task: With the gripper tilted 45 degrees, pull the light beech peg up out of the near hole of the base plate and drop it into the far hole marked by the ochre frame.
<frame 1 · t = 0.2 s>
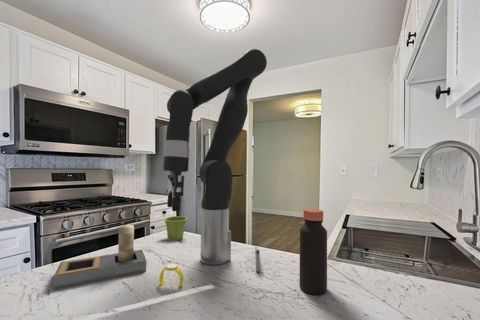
hand: (173, 208, 71), 18 cm above the countertop, tool pointing down, fingers open, 8 cm apart
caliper: (256, 260, 79), on the countertop
watch: (171, 289, 59), on the countertop
base plate: (103, 275, 66), on the countertop
peg: (125, 268, 68), point 1 cm above the countertop, touching base plate
plant pot: (175, 239, 99), on the countertop
bottle: (313, 289, 60), on the countertop
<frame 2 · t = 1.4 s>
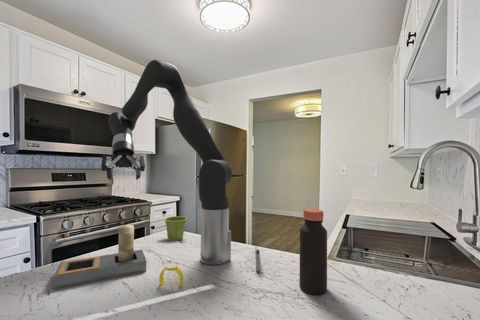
hand: (124, 178, 81), 27 cm above the countertop, tool tilted 45°, fingers open, 8 cm apart
nothing on the countertop moved.
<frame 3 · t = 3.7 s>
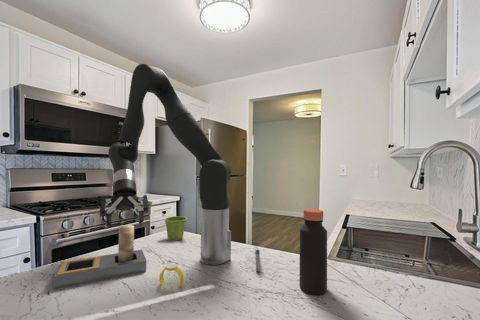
hand: (125, 224, 73), 13 cm above the countertop, tool tilted 45°, fingers open, 8 cm apart
nothing on the countertop moved.
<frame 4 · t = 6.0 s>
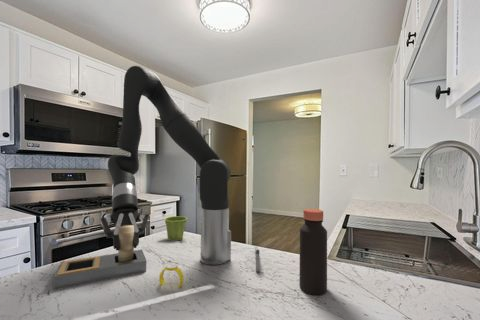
hand: (126, 247, 67), 8 cm above the countertop, tool tilted 45°, fingers closed on peg, 4 cm apart
peg: (125, 268, 68), point 1 cm above the countertop, touching gripper, base plate
everything else where it was.
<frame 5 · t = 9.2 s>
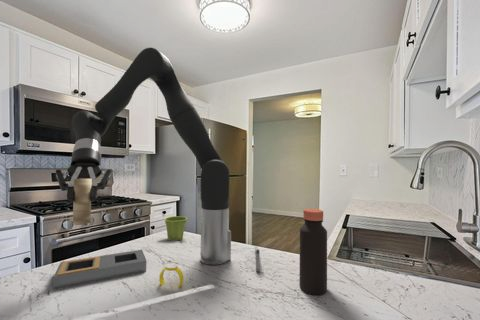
hand: (81, 199, 62), 22 cm above the countertop, tool tilted 45°, fingers closed on peg, 4 cm apart
peg: (81, 223, 63), point 15 cm above the countertop, touching gripper
everything else where it was.
when the fingers open (9 cm above the countertop, at t = 12.4 s): peg drops 1 cm, resting on base plate.
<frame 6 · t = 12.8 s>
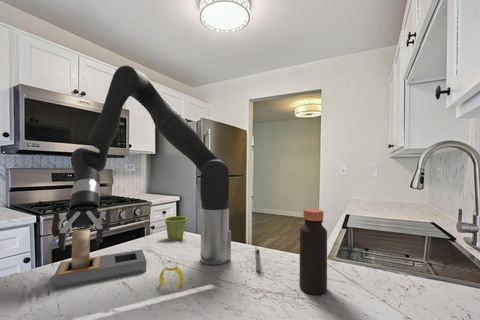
hand: (80, 246, 62), 9 cm above the countertop, tool tilted 45°, fingers open, 7 cm apart
peg: (80, 276, 63), point 1 cm above the countertop, touching base plate
everything else where it was.
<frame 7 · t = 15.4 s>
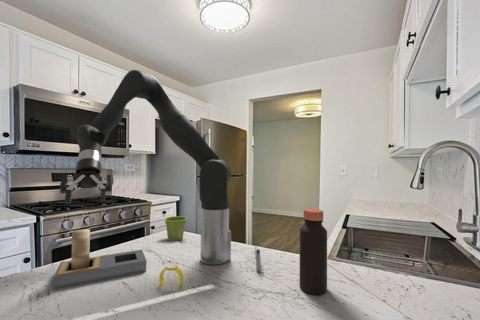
hand: (85, 201, 74), 20 cm above the countertop, tool tilted 45°, fingers open, 8 cm apart
nothing on the countertop moved.
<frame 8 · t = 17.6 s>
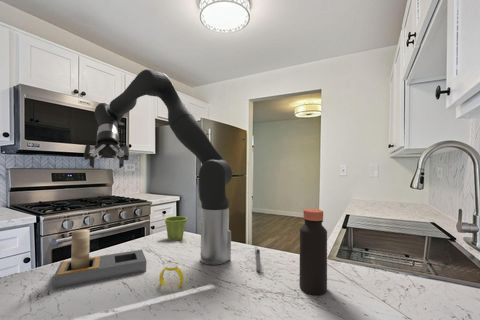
hand: (107, 166, 83), 31 cm above the countertop, tool tilted 45°, fingers open, 8 cm apart
nothing on the countertop moved.
at the end: peg 0.1 cm from the target spot on the base plate, point 1.0 cm above the base plate's base; peg tilted 1°; the gripper is holding nothing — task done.
